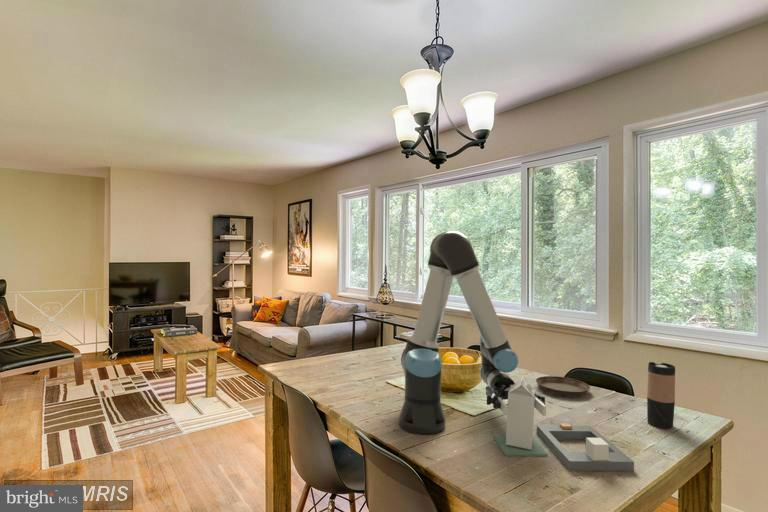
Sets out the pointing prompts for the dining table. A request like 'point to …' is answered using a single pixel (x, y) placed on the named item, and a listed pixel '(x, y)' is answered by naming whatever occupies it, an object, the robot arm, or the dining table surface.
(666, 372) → the travel mug
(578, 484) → the dining table surface
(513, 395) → the milk carton
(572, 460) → the grey open frame
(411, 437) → the dining table surface
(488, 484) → the dining table surface
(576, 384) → the plant saucer
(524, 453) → the felt pad
